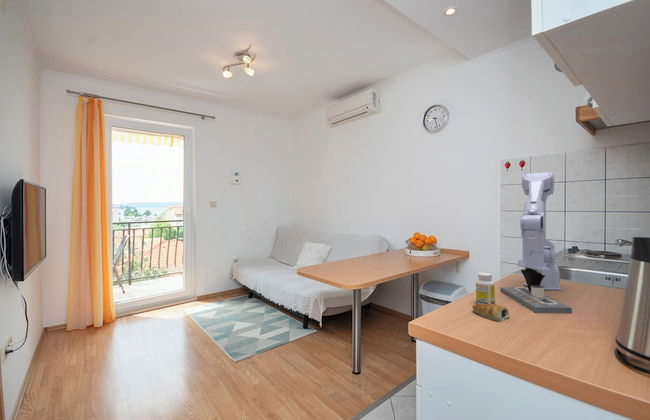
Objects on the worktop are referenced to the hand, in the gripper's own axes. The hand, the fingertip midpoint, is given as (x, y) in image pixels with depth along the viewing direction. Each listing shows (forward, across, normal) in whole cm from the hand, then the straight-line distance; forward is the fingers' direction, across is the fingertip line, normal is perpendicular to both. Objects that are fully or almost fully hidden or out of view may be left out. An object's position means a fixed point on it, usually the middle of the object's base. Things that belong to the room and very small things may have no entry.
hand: (533, 292), depth 99 cm
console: (+3, -1, 0) cm, 3 cm away
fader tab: (+1, +2, 0) cm, 3 cm away
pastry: (+4, +13, -19) cm, 23 cm away
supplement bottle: (+3, +2, -16) cm, 17 cm away
